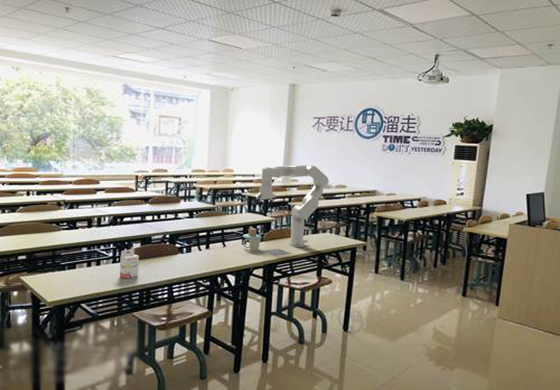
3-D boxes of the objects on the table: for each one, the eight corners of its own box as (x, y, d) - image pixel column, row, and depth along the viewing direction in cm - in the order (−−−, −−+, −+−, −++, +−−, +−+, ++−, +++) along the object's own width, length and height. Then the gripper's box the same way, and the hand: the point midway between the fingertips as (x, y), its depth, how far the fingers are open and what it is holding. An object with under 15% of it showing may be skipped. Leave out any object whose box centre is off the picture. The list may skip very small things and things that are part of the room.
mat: (279, 250, 329) (279, 248, 329) (291, 254, 317) (291, 253, 317) (262, 251, 320) (262, 250, 320) (274, 256, 308) (274, 255, 308)
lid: (254, 234, 330) (255, 226, 329) (264, 238, 320) (265, 230, 319) (239, 235, 322) (240, 227, 322) (249, 239, 312) (249, 231, 311)
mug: (259, 252, 318) (260, 238, 317) (241, 251, 318) (242, 237, 317) (260, 249, 326) (260, 236, 325) (243, 248, 326) (243, 235, 325)
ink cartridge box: (124, 279, 241) (125, 252, 239) (119, 277, 244) (120, 250, 242) (138, 276, 247) (139, 250, 246) (133, 274, 250) (134, 248, 249)
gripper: (273, 183, 341) (271, 205, 343) (254, 183, 331) (252, 206, 333) (278, 184, 335) (277, 206, 337) (259, 184, 325) (258, 207, 327)
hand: (265, 206), depth 335 cm, fingers open, 9 cm apart
